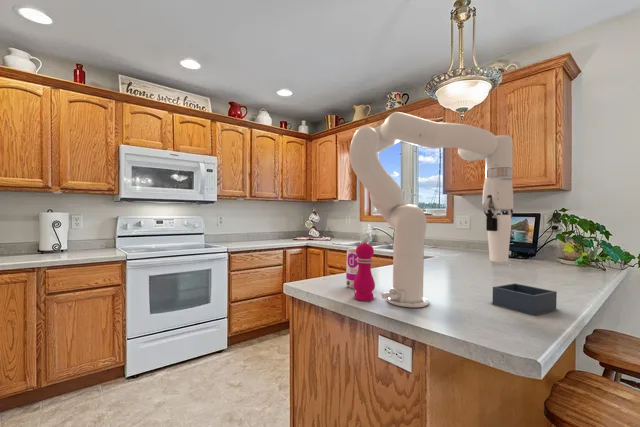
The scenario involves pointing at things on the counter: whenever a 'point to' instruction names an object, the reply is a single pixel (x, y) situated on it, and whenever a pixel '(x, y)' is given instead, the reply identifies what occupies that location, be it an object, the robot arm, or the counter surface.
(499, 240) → the drinking glass
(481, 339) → the counter surface
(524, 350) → the counter surface
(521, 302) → the tub
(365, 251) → the pepper mill
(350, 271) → the supplement can
